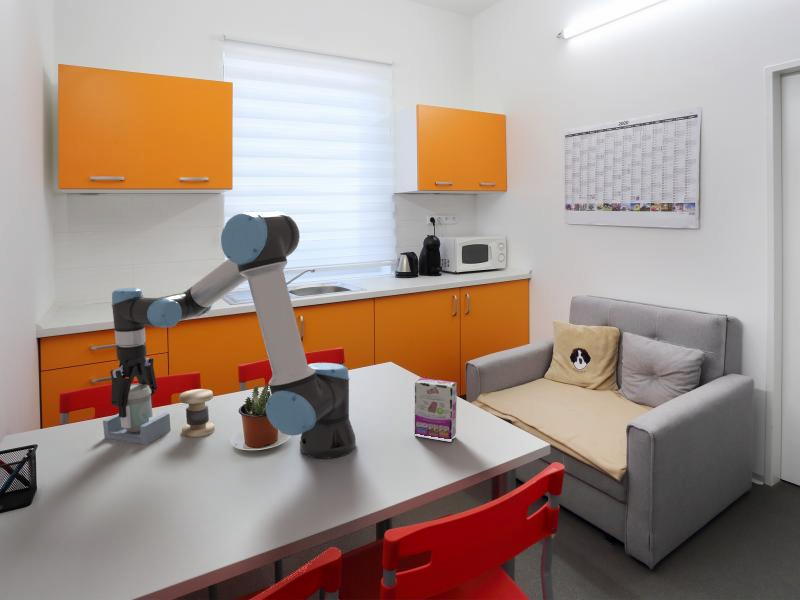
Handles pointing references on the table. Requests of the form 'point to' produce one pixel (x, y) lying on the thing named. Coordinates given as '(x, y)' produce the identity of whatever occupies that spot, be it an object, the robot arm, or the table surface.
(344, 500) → the table surface
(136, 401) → the coffee cup
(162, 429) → the u-shaped channel bracket
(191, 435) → the bobbin
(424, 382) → the candy bar box
